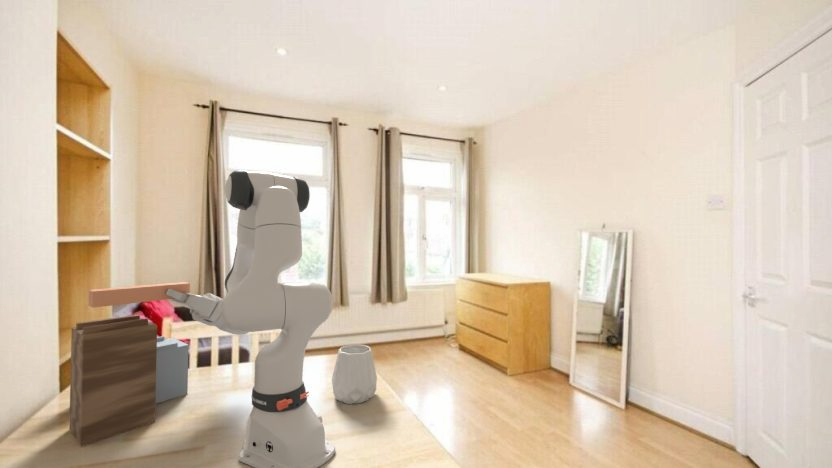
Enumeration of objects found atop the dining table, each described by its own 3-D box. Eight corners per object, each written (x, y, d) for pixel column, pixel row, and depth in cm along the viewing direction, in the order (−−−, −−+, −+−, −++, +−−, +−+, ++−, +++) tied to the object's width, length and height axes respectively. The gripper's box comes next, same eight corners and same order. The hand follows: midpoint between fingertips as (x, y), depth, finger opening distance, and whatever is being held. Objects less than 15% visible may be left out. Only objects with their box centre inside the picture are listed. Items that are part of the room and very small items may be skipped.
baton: (189, 296, 109) (189, 283, 109) (92, 307, 92) (92, 291, 92) (184, 295, 112) (184, 281, 112) (88, 305, 94) (88, 289, 94)
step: (187, 394, 117) (188, 341, 117) (145, 406, 108) (147, 349, 108) (172, 384, 124) (173, 334, 124) (132, 395, 115) (133, 341, 115)
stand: (155, 421, 99) (157, 319, 99) (80, 446, 87) (83, 330, 87) (139, 408, 107) (141, 312, 107) (69, 429, 95) (71, 321, 95)
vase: (331, 408, 109) (332, 357, 109) (331, 389, 123) (332, 343, 123) (379, 404, 112) (380, 354, 112) (373, 386, 126) (374, 341, 126)
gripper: (197, 294, 123) (156, 276, 113) (227, 302, 110) (183, 283, 101) (187, 312, 120) (143, 296, 111) (216, 323, 108) (170, 305, 98)
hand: (162, 290), depth 106 cm, fingers closed on baton, 4 cm apart
